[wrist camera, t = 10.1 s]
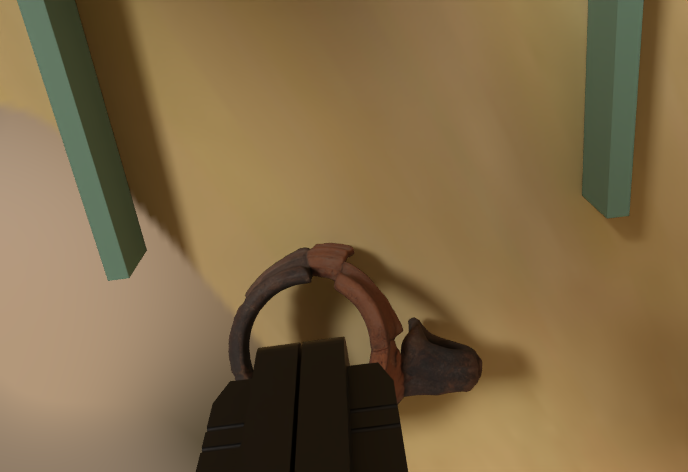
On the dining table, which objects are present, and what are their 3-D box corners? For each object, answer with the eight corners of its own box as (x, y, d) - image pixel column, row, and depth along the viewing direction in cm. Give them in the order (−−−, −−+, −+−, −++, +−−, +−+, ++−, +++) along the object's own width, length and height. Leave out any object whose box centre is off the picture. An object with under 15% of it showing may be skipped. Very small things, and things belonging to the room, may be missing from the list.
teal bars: (-9, -169, 24) (-89, -200, 19) (631, -266, 23) (706, -322, 18) (121, 253, 31) (86, 303, 27) (608, 192, 30) (657, 232, 26)
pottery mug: (267, 407, 35) (206, 449, 27) (272, 243, 36) (214, 237, 28) (479, 423, 33) (482, 475, 25) (482, 248, 33) (486, 243, 25)
